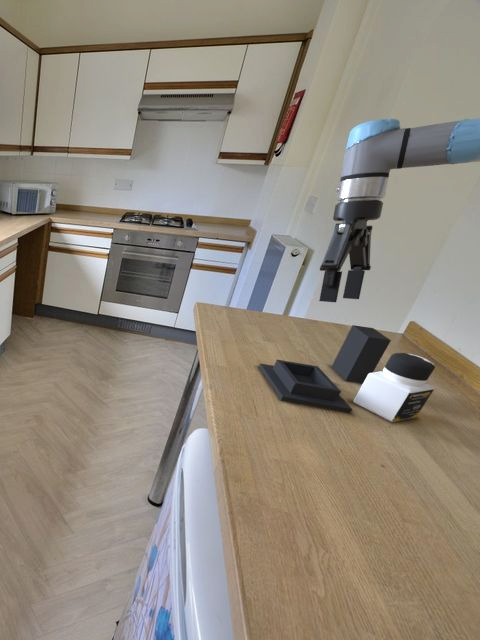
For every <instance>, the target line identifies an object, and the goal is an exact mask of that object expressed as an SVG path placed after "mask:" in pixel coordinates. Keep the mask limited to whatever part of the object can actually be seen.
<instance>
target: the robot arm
mask: <svg viewBox="0 0 480 640" xmlns="http://www.w3.org/2000/svg"><path fill="white" fill-rule="evenodd" d="M400 124H401V122H400V120H399V119H397V118H383V119H382V118H380V119H374V120H369V121H365V122H361V123H359V124H357V125H356V126H354V127H353V128H352V129H351V130H350V132H349V135H348V139H347V142H346V147H345V151H344V157H343V162H342V167H341V175H340V180H339V186H338V187H336V188H335V192H337V197H336V201H338V203H337V204H335V206H334V211H333V216H332V220H333V221H335V222H336V223H335V225H334V228H333V233H332V236H331V239H330V241H329V243H328V247H327V249H326V252H325V255H324V257H323V259H322V262H321V265H320V266H319V271H321V272H324V274H323V279H322V283H321V284H322V285H321V289H320V294H319V295H320V296H319V300H318V301H319V302H326V303H337V301H338V296H339V292H340V291H339V290H340V285H341V280H342V277H343V276H342V275H343V271H341V269H342V268H343V265H344V264H345V262H346V260H347V258H348V257H349V266H350V269H348V270H347V274H346V281H345V285H344V290H343V295H342V299H347V300H348V299H350V300H360V297H361V292H362V287H363V283H364V276H365V273H366V271H370V270H371V268H372V266H371V264H370V263H371V242H372V240H371V239H372V232H373V225H368V221H376V220H379V219H381V215H382V210H383V206H384V202H383V201H382V200H381V199H384V198H385V197H386V193H387V189H388V182H389V177H390V172H391V170H400V169H407V168H420V167H432V166H442V165H457V164H465V163H466V164H467V163H468V164H469V163H480V118H464V119H460V120H455V121H454V120H453V121H447V122H440V123H434V124H429V125H423V126H422V125H421V126H415V127H406V128H405V127H403V128H401V126H400ZM337 222H339V223H337Z"/></svg>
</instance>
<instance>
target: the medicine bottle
mask: <svg viewBox="0 0 480 640" xmlns="http://www.w3.org/2000/svg"><path fill="white" fill-rule="evenodd" d="M435 369H436V366H435V364H434V363H433V362H432V361H430V360H429V359H427V358H425V357H422V356H420V355H416V354H413V353H408V352H395V353H392V354H391V355H390V357H389V358H388V360H387V362H386V363H385V366H384V367H383V368H382V370H381V371H374V372H373V373H369V374H368V375H367V377H366V379H365V381H364V383H361V386H360V388H359V389H358V392H357V394H356V395H355V397H354V399H353V403H354V404H356V405H357V406H359V407H362V408H364V409H365V410H368V411H369V412H372V413H374V414H375V415H377V416H379V417H381V418H383V419H385V420H387V421H388V422H391V423H393V422H400V421H404V420H409V419H410V420H411V419H415V418H417V416H418V415H419V414H420V412H421V410H422V409H423V408H424V406H425V405H426V403H427V401H428V400H429V398H430V397H431V395H432V394H433V392H434V391H435V386H432V385H431V384H428V383H427V381H428V380H429V378H430V376H431V375H432V373H433V372H434V371H435Z"/></svg>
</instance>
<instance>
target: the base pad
mask: <svg viewBox="0 0 480 640" xmlns="http://www.w3.org/2000/svg"><path fill="white" fill-rule="evenodd" d="M258 368H259V370H260V371H261V373H262V374H263V375H264V377H265V379H266V380H267V382H268V383H269V385H270V386H271V388H272V389H273V391H274V392H275V394H276V396H277V397H278V398H279V400H280V401H282V402H287V403H293V404H297V405H304V406H309V407H313V408H314V407H315V408H321V409H325V410H331V411H336V412H342V413H347V414H351V413H352V411H353V408H352V407H351V406H350V405H349V404H348V403H347V401H346V400H345V399H344V398H342V396H341V392H342V391H341V389H340V388H339V387H338V386H337V385H336V384H335V383H334V382H333V381H332V380H331V379H330V377H329V376H327V374H325V372H324V371H323V370H322V369H321V368H320V367H319V366H318V365H312V364H308V363H307V364H306V363H301V362H295V361H289V360H282V359H275V363H274V365H272V364H267V363H259V365H258Z"/></svg>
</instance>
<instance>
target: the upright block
mask: <svg viewBox="0 0 480 640" xmlns="http://www.w3.org/2000/svg"><path fill="white" fill-rule="evenodd" d="M391 341H392V340H391V339H390V338H389V337H387V336H385V335H384V334H383V333H382V332H381V331H378V330H377V329H375V328H374V327H369V326H361V325H355V324H353V325H351V327H350V329H349V331H348V333H347V334H346V337H345V339H344V340H343V343H342V345H341V347H340V349H339V351H338V353H337V355H336V356H335V359H334V361H333V362H332V364H331V368H332V369H333V370H334V371H335V372H336V373H337V374H338V375H339V376H340V377H341V378H342V379H343V380H344V381H346V382H352V383H357V384H363V383H364V381H365V379H366V377H367V375H368V374H369V373H373V372H375V370H376V368H377V366H378V364H379V362H380V361H381V359H382V357H383V355H384V354H385V352H386V350H387V349H388V347H389V345H390V344H391Z"/></svg>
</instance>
